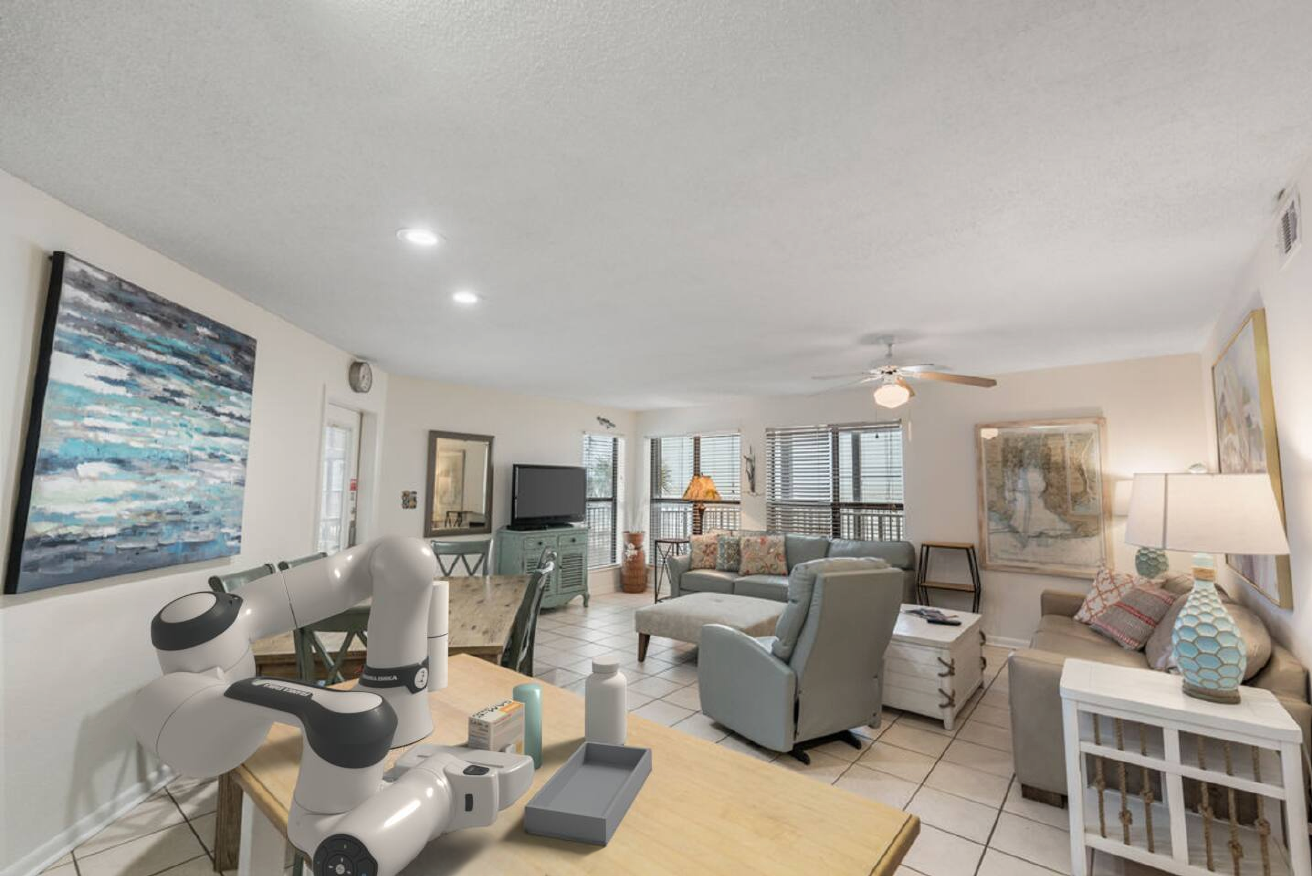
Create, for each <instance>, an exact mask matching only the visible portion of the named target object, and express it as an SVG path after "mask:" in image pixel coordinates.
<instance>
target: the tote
mask: <svg viewBox="0 0 1312 876" xmlns="http://www.w3.org/2000/svg"><path fill="white" fill-rule="evenodd" d="M652 753H653V751H652V748H649V747H642V746H633V745H624V744H623V745H617V744H608V743H599V742H591V741H585V740H584V742H583V743H581V745H580V746H579V747H578V748H577V749H576V750H575V752H573V754H571V756H570V757H569V758H568V759H567V760H566V761H565V762H564V763H563V764H562V765H561V767H560V768H559V769H557V771H556V772H554V774H553V775H552V776H551V777H550V778H549V779H548V780H547V782H545V784H543V786H542V787H541V788H540V789H539V790H538V791H537V792H535V794H534V795H533V797H532V798H531V799H530V800H529V801H528V802H527V803H526V804H525V805H524V834H530V835H536V836H543V837H548V838H554V839H561V840H565V841H572V842H577V843H584V844H589V845H596V846H599V847H600V846H601V847H607V846H608V845H609V842H610V841H611V840H612V838H613V836H614V834H615V833H616V831H617V829H618V827H619V826H620V824H621V822H622V821H623V820H624V818H625V816H626V814H627V812H628V811H629V809H630V807H631V806H632V804H633V803H634V801H635V800H636V798H637V796H638V794H639V793H640V791H641V789H642V788H643V786H644V784H645V782H646V780H647V779H648V778H649V776H650V774H651V772H652V771H653V762H652V761H653V760H652V759H653V758H652V757H653V755H652Z"/></svg>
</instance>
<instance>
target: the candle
mask: <svg viewBox="0 0 1312 876" xmlns="http://www.w3.org/2000/svg"><path fill="white" fill-rule="evenodd" d="M512 700H513V701H517V702H521V703H525V730H524V755H528V756H531V757H532V759H533V762H534V771H537V770H538V769H539V768H541V766H542V765H543V685H541V684H540V683H536V682H528V683H521V684H518V685H516V686H514V687H513V688H512Z"/></svg>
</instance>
